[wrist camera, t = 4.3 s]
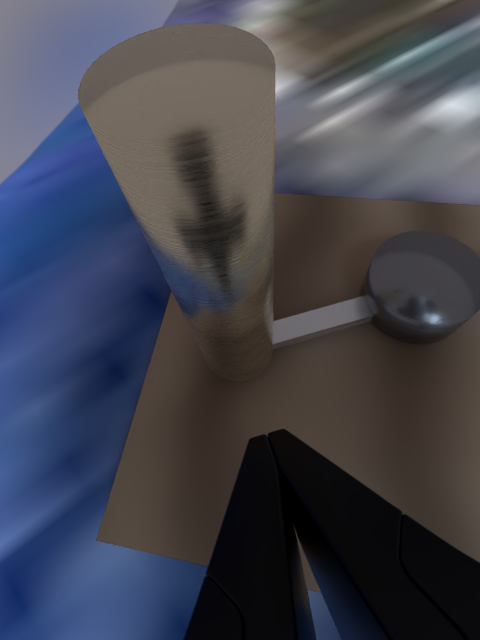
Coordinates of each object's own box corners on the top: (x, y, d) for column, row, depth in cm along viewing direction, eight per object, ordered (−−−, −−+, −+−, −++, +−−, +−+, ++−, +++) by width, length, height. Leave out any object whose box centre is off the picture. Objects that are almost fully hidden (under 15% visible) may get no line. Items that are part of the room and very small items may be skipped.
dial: (571, 210, 17) (990, -186, 7) (642, 282, 15) (1369, -131, 5) (195, 314, 16) (73, 29, 6) (216, 406, 14) (86, 200, 4)
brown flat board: (645, 237, 18) (679, 214, 17) (847, 702, 10) (945, 738, 9) (206, 207, 22) (201, 185, 20) (112, 535, 14) (93, 541, 12)
